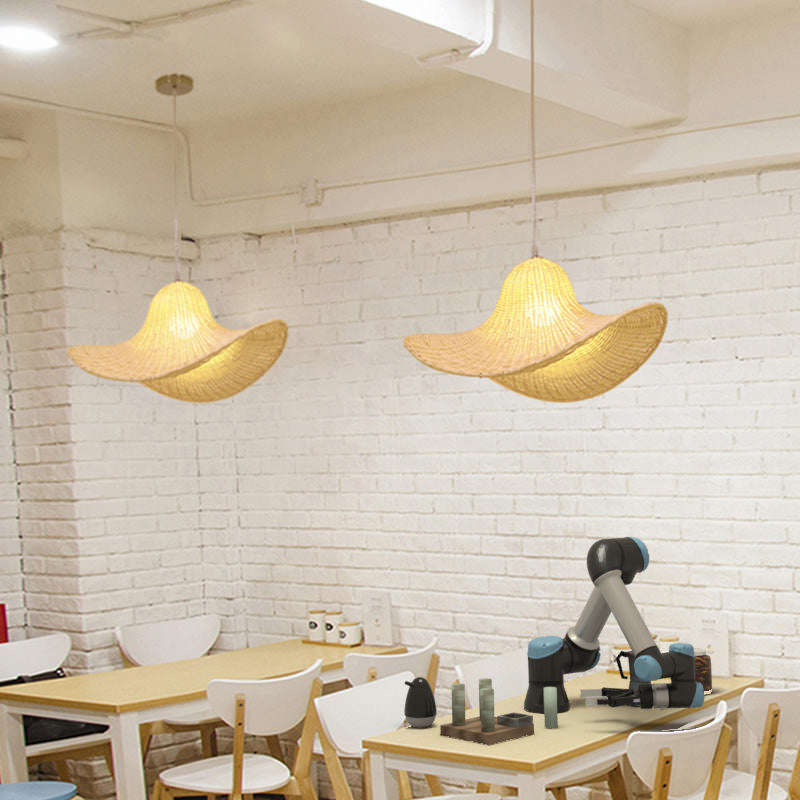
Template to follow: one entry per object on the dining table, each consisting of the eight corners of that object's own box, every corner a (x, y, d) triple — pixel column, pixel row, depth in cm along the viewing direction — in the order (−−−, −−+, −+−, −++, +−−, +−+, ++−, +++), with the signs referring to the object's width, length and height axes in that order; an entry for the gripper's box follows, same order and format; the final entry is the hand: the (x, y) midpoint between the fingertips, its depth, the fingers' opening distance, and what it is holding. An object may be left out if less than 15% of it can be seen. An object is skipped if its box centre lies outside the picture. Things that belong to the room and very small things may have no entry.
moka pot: (666, 705, 392) (664, 645, 394) (624, 709, 388) (622, 648, 390) (653, 700, 401) (651, 641, 403) (612, 703, 397) (610, 644, 399)
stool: (440, 735, 355) (439, 685, 356) (485, 724, 368) (484, 676, 369) (488, 745, 340) (487, 692, 341) (534, 734, 354) (532, 683, 355)
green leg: (542, 726, 363) (541, 687, 364) (552, 725, 365) (551, 686, 366) (549, 729, 360) (548, 689, 361) (560, 727, 362) (559, 688, 362)
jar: (719, 693, 412) (718, 650, 413) (696, 697, 406) (694, 653, 407) (695, 688, 422) (693, 646, 423) (671, 692, 416) (670, 649, 417)
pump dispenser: (398, 725, 371) (397, 676, 372) (427, 721, 375) (426, 673, 376) (413, 731, 362) (412, 681, 363) (442, 727, 366) (441, 677, 367)
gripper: (660, 716, 349) (588, 717, 350) (646, 701, 374) (579, 702, 375) (658, 690, 349) (587, 692, 350) (645, 677, 374) (578, 678, 375)
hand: (583, 697), depth 362 cm, fingers open, 13 cm apart
